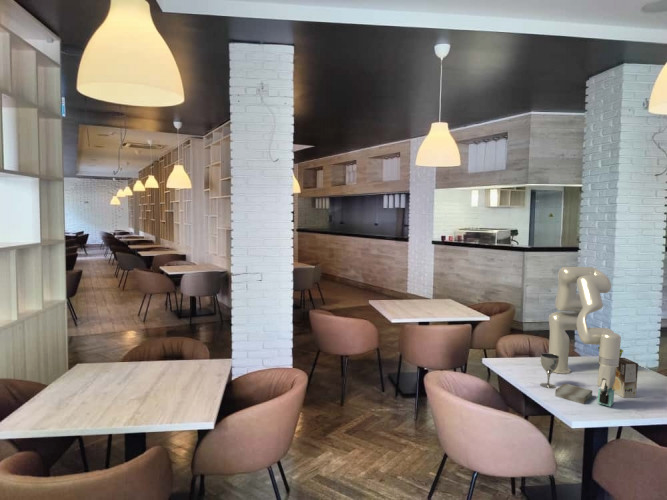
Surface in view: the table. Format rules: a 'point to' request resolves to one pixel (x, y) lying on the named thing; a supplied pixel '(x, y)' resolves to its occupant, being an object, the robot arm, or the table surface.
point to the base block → (573, 393)
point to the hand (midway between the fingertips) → (605, 400)
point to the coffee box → (626, 378)
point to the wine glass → (549, 367)
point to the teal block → (610, 399)
